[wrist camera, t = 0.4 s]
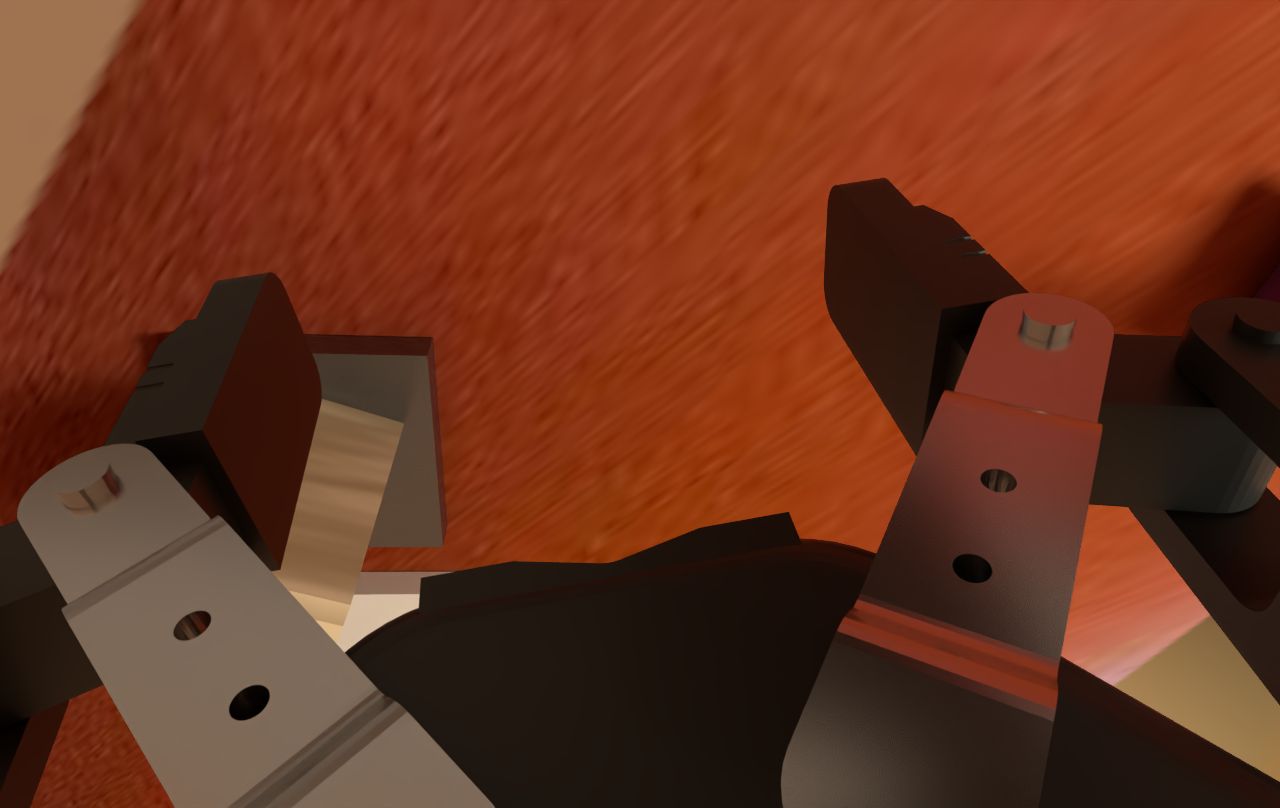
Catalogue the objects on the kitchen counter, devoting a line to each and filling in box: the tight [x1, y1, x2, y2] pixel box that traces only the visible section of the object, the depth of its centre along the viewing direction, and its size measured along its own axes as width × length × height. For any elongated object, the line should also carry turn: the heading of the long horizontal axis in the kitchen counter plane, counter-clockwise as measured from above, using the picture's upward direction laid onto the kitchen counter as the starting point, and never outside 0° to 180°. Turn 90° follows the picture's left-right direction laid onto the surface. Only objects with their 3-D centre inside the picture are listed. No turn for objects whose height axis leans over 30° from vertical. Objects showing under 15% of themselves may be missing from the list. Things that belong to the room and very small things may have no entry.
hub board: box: [337, 572, 451, 653], centre depth 41 cm, size 14×14×8 cm
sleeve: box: [271, 399, 404, 644], centre depth 31 cm, size 6×6×10 cm
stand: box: [305, 335, 447, 547], centre depth 32 cm, size 10×10×10 cm
